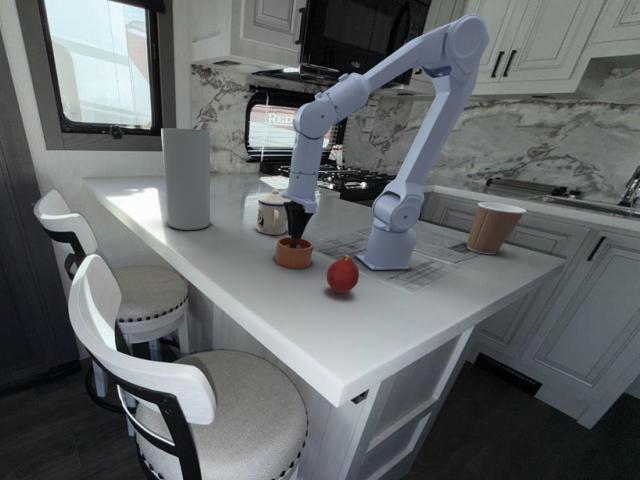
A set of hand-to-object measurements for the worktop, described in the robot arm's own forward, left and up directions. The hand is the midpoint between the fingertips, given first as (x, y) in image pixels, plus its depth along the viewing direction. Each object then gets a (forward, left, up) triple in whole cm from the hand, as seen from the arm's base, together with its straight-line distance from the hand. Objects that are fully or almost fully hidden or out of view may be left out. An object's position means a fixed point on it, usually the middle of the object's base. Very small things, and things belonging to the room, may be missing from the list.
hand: (294, 236), depth 69 cm
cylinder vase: (+24, -28, -6) cm, 37 cm away
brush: (0, 0, -5) cm, 5 cm away
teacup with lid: (0, -21, -6) cm, 22 cm away
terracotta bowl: (0, 0, -6) cm, 6 cm away
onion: (-5, +16, -6) cm, 18 cm away
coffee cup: (-57, -6, -6) cm, 58 cm away
